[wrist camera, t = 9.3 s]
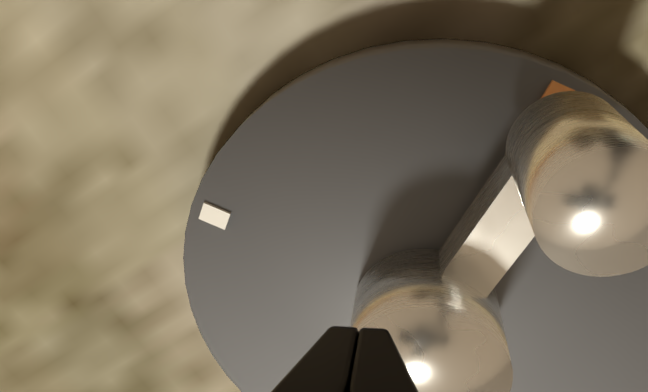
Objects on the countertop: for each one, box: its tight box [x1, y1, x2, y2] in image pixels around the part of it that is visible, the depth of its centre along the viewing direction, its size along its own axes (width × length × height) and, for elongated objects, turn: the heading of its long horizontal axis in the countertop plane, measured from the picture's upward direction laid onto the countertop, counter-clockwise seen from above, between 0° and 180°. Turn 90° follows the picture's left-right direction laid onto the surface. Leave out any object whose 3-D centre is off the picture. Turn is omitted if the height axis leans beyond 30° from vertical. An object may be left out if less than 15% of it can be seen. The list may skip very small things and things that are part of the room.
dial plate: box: [183, 39, 648, 392], centre depth 20 cm, size 18×18×2 cm
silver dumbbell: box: [350, 91, 648, 392], centre depth 15 cm, size 12×5×5 cm, turn 156°
